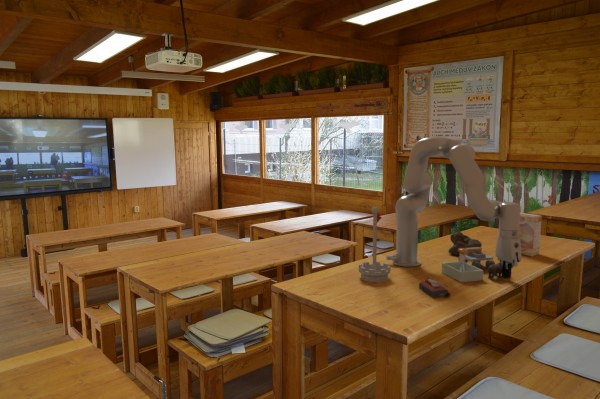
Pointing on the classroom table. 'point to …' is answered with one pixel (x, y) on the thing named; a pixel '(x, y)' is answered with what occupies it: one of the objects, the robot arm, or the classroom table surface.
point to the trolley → (478, 257)
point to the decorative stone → (462, 243)
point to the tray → (469, 274)
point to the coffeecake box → (530, 233)
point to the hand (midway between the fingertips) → (506, 277)
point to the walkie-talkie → (433, 288)
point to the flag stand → (374, 258)
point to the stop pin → (462, 259)
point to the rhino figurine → (495, 270)
